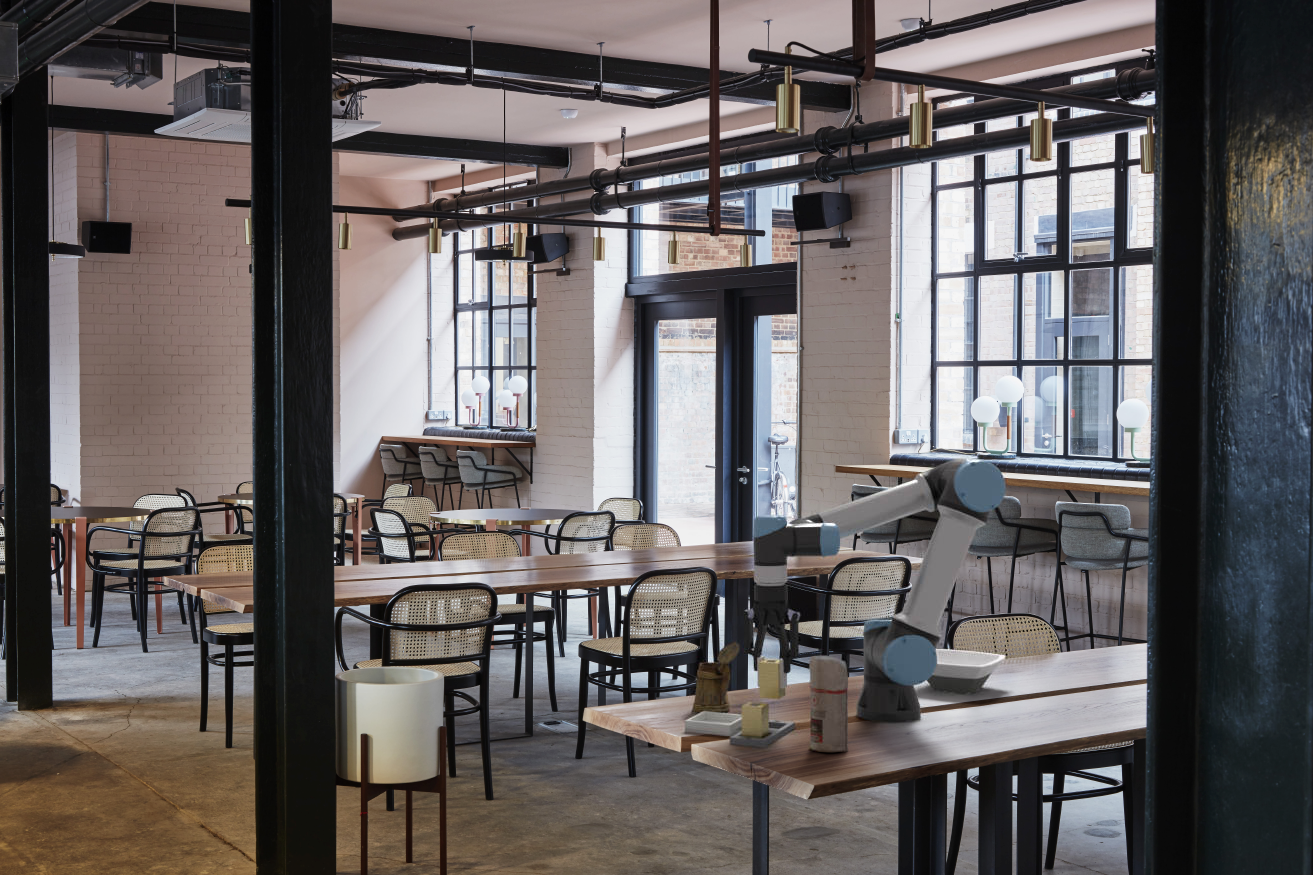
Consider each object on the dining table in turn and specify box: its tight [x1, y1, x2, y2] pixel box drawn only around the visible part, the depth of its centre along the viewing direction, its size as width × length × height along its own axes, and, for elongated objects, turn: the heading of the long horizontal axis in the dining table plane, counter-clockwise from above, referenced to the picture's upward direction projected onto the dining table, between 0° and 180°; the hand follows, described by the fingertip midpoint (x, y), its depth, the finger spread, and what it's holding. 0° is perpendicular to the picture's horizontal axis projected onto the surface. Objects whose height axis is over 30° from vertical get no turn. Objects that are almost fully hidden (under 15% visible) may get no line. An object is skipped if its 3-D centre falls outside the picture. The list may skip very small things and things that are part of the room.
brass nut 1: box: [741, 701, 770, 739], centre depth 280 cm, size 5×5×8 cm
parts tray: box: [684, 711, 742, 737], centre depth 291 cm, size 11×11×2 cm
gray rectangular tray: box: [729, 719, 796, 749], centre depth 284 cm, size 8×20×2 cm, turn 155°
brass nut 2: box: [758, 658, 786, 700], centre depth 289 cm, size 5×5×8 cm
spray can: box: [808, 655, 849, 753], centre depth 272 cm, size 8×8×20 cm
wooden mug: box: [691, 641, 740, 714], centre depth 310 cm, size 9×14×18 cm, turn 36°
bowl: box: [926, 648, 1006, 694], centre depth 338 cm, size 22×23×8 cm
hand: (772, 686), depth 289 cm, fingers closed on brass nut 2, 5 cm apart
